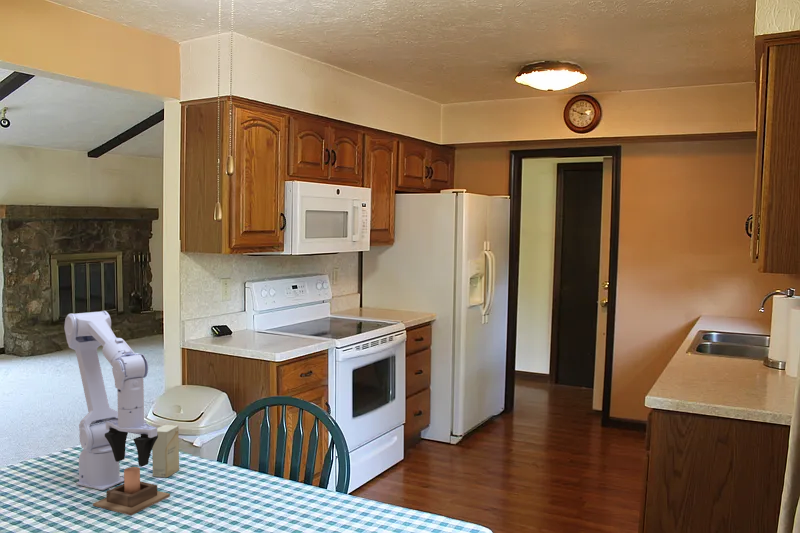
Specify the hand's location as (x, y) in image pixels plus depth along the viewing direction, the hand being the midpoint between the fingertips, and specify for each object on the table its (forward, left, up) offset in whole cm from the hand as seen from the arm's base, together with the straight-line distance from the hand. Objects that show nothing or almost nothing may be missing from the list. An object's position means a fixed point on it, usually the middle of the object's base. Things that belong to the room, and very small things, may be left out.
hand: (131, 462), depth 157 cm
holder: (0, 0, -9) cm, 9 cm away
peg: (0, 0, -9) cm, 9 cm away
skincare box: (-6, +17, -10) cm, 20 cm away
